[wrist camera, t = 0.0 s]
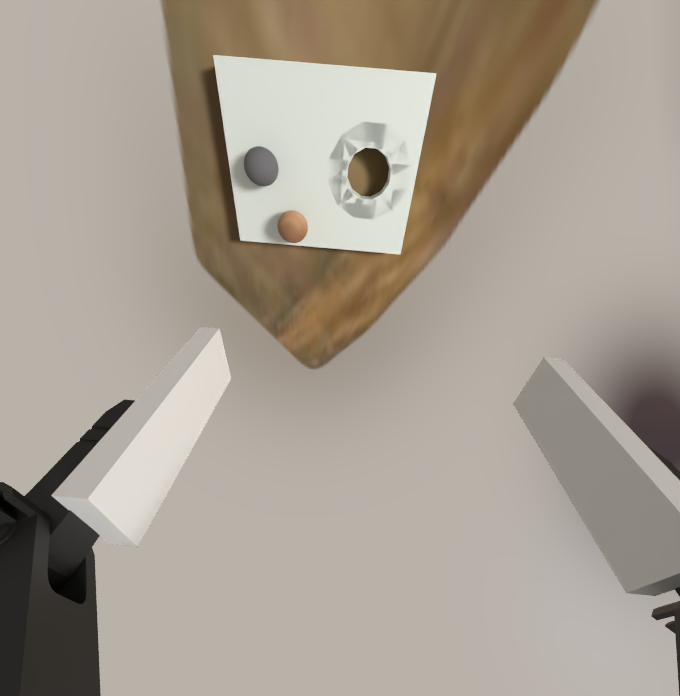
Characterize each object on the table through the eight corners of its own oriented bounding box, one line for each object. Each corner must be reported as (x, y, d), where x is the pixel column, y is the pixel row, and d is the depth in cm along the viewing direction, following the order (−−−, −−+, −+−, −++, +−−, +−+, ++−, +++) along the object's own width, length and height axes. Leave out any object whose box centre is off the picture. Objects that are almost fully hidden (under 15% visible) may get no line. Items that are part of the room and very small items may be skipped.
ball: (248, 145, 28) (236, 144, 25) (280, 147, 28) (272, 147, 25) (252, 183, 30) (241, 186, 27) (282, 185, 30) (275, 189, 27)
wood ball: (280, 206, 31) (272, 212, 29) (309, 209, 31) (305, 215, 29) (282, 237, 33) (275, 245, 31) (309, 239, 33) (305, 248, 31)
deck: (224, 62, 26) (213, 54, 24) (430, 79, 26) (436, 73, 24) (246, 235, 36) (240, 240, 34) (398, 248, 36) (400, 254, 34)
